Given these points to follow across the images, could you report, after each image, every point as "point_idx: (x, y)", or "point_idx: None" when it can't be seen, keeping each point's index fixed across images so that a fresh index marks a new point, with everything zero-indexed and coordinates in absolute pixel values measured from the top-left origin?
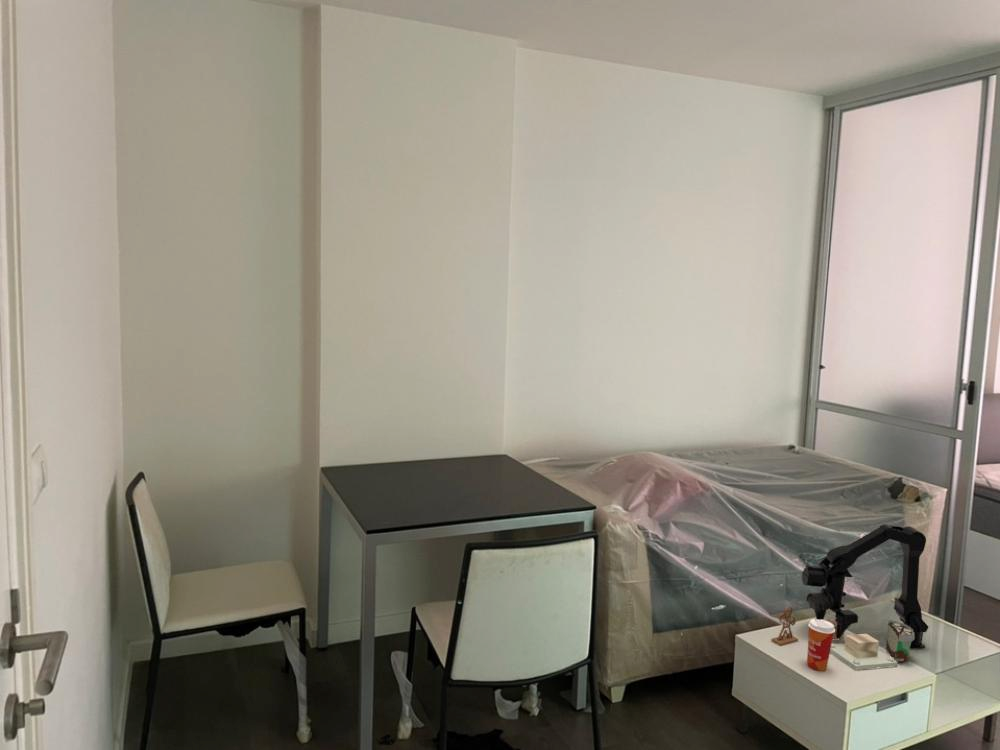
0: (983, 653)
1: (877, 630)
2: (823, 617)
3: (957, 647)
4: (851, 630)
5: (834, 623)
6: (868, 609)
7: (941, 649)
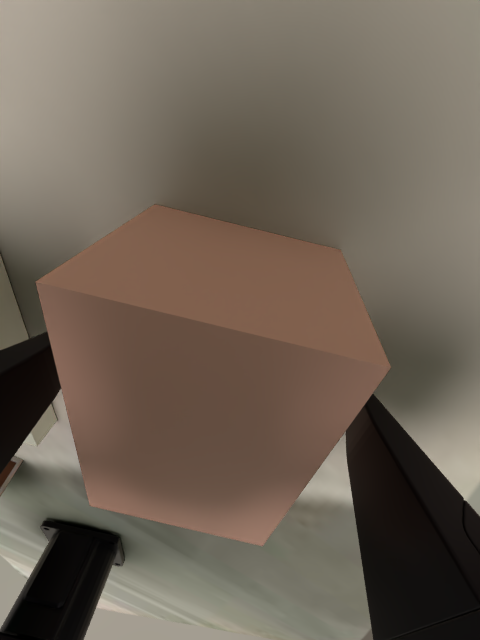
0: None
1: (209, 550)
2: (359, 515)
3: None
4: None
5: (162, 485)
6: (353, 619)
7: None
